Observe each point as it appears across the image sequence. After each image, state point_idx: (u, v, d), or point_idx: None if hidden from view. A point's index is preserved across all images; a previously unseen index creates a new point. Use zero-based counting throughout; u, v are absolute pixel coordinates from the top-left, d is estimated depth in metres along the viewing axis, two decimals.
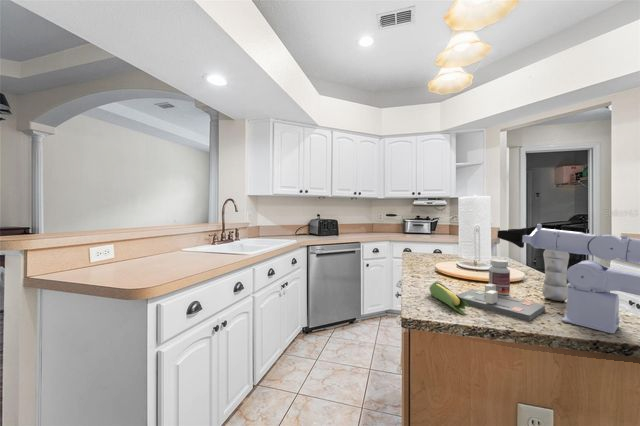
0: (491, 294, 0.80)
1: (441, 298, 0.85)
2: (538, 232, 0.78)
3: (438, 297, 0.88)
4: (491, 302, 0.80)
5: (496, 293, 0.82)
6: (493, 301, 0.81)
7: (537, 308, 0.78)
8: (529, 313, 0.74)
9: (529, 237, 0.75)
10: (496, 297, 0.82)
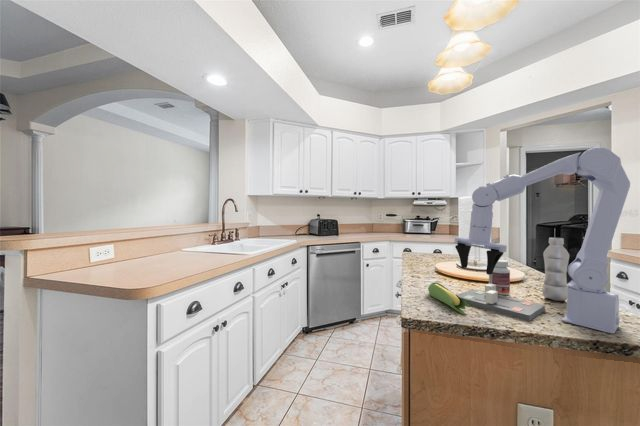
0: (491, 294, 0.80)
1: (441, 298, 0.85)
2: (483, 241, 0.82)
3: (437, 297, 0.87)
4: (491, 302, 0.80)
5: (496, 293, 0.82)
6: (493, 301, 0.81)
7: (537, 308, 0.78)
8: (529, 313, 0.74)
9: (504, 246, 0.79)
10: (496, 297, 0.82)
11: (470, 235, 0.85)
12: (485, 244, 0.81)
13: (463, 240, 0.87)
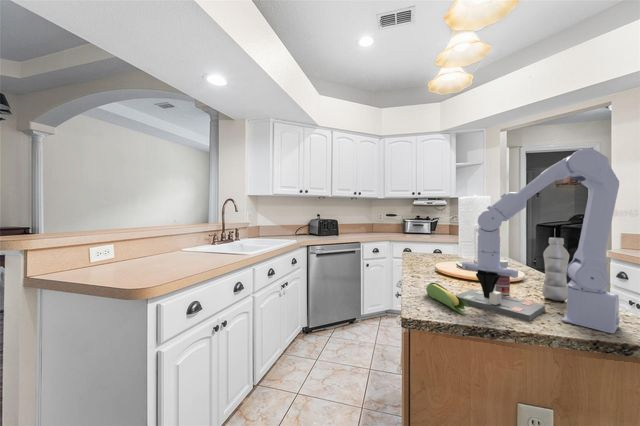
0: (495, 295, 0.80)
1: (439, 298, 0.85)
2: (494, 267, 0.80)
3: (436, 297, 0.87)
4: (495, 303, 0.80)
5: (500, 294, 0.81)
6: (497, 302, 0.80)
7: (537, 308, 0.78)
8: (529, 313, 0.74)
9: (516, 272, 0.76)
10: (500, 298, 0.81)
11: (479, 261, 0.82)
12: (496, 270, 0.79)
13: (471, 266, 0.85)
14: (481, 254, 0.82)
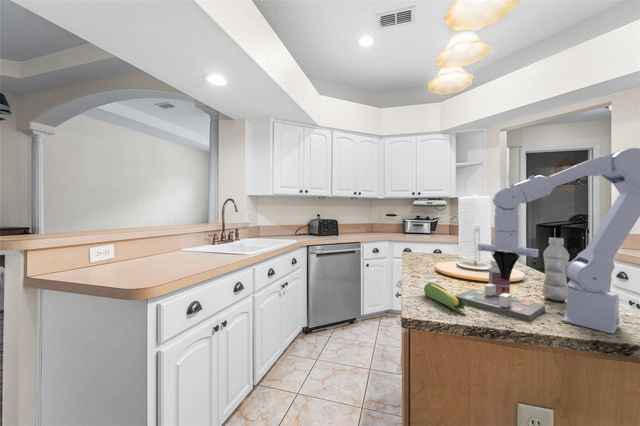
0: (505, 297, 0.77)
1: (438, 299, 0.85)
2: (512, 247, 0.76)
3: (435, 298, 0.87)
4: (505, 305, 0.77)
5: (510, 296, 0.79)
6: (507, 304, 0.78)
7: (537, 308, 0.78)
8: (529, 313, 0.74)
9: (536, 251, 0.73)
10: (510, 300, 0.79)
11: (496, 241, 0.79)
12: (515, 249, 0.75)
13: (488, 247, 0.81)
14: (498, 234, 0.78)
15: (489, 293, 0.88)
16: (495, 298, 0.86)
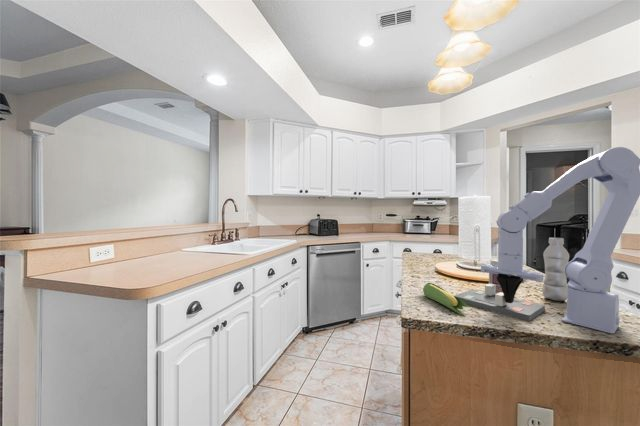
0: (501, 296, 0.78)
1: (437, 299, 0.84)
2: (516, 270, 0.75)
3: (433, 298, 0.87)
4: (501, 304, 0.78)
5: None
6: (503, 303, 0.79)
7: (537, 308, 0.78)
8: (529, 313, 0.74)
9: (541, 276, 0.72)
10: None
11: (500, 263, 0.78)
12: (519, 274, 0.74)
13: (492, 269, 0.80)
14: (503, 257, 0.77)
15: (489, 293, 0.88)
16: None
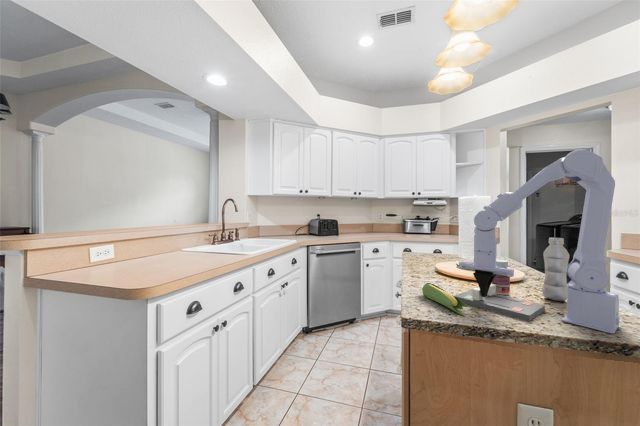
0: (477, 291, 0.83)
1: (437, 299, 0.84)
2: (490, 266, 0.81)
3: (433, 298, 0.87)
4: (477, 299, 0.83)
5: None
6: (479, 298, 0.84)
7: (537, 308, 0.78)
8: (529, 313, 0.74)
9: (511, 271, 0.77)
10: None
11: (475, 260, 0.83)
12: (492, 269, 0.80)
13: (468, 265, 0.85)
14: (477, 253, 0.82)
15: (489, 293, 0.88)
16: (495, 298, 0.86)
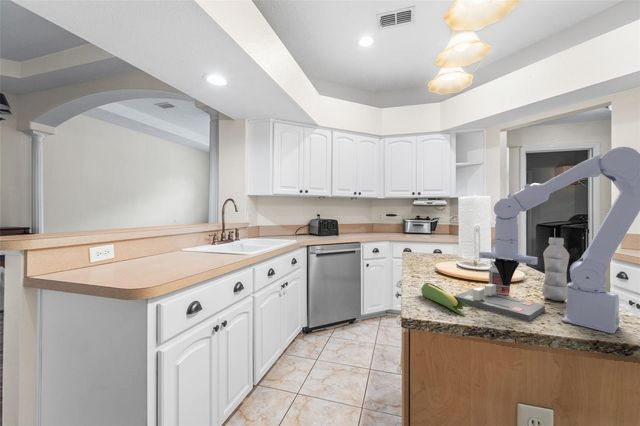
0: (478, 291, 0.83)
1: (437, 299, 0.84)
2: (513, 255, 0.80)
3: (433, 298, 0.86)
4: (478, 299, 0.83)
5: (483, 290, 0.85)
6: (480, 298, 0.83)
7: (537, 308, 0.78)
8: (529, 313, 0.74)
9: (535, 258, 0.77)
10: (483, 294, 0.85)
11: (497, 249, 0.82)
12: (515, 257, 0.79)
13: (489, 254, 0.85)
14: (499, 242, 0.82)
15: (489, 293, 0.88)
16: (495, 298, 0.86)
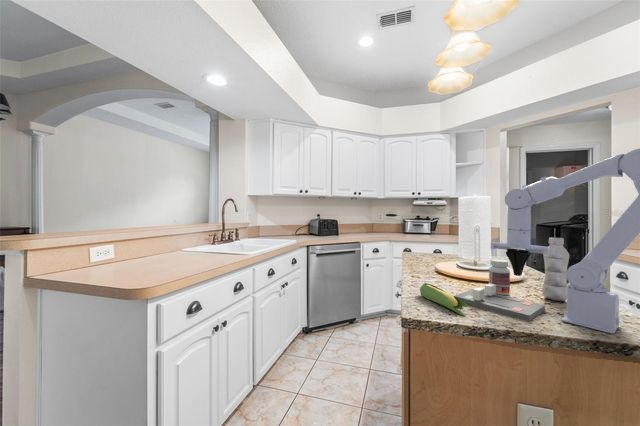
0: (478, 291, 0.83)
1: (436, 300, 0.84)
2: (525, 245, 0.80)
3: (432, 299, 0.86)
4: (478, 299, 0.83)
5: (483, 290, 0.85)
6: (480, 298, 0.83)
7: (537, 308, 0.78)
8: (529, 313, 0.74)
9: (548, 248, 0.77)
10: (483, 294, 0.85)
11: (509, 239, 0.83)
12: (527, 247, 0.80)
13: (501, 244, 0.85)
14: (512, 232, 0.82)
15: (489, 293, 0.88)
16: (495, 298, 0.86)
